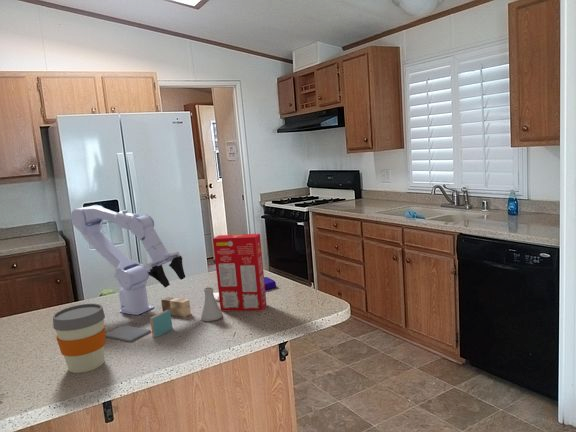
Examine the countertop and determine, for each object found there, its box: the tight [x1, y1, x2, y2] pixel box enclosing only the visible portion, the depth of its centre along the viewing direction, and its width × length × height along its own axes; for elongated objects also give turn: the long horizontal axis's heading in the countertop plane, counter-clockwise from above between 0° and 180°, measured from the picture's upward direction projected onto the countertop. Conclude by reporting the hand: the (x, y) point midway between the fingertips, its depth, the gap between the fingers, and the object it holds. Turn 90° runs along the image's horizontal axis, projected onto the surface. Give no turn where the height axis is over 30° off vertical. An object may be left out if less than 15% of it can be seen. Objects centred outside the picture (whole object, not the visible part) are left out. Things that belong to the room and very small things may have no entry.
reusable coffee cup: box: [52, 303, 107, 374], centre depth 124 cm, size 13×13×15 cm
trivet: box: [106, 324, 152, 343], centre depth 144 cm, size 12×8×1 cm, turn 60°
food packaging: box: [212, 233, 267, 312], centre depth 158 cm, size 15×5×25 cm, turn 78°
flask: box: [200, 286, 223, 322], centre depth 152 cm, size 7×7×10 cm
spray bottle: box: [213, 276, 277, 302], centre depth 177 cm, size 3×11×24 cm
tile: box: [149, 310, 173, 338], centre depth 143 cm, size 2×7×6 cm, turn 149°
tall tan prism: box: [161, 296, 192, 318], centre depth 159 cm, size 10×3×5 cm, turn 60°
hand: (175, 282), depth 156 cm, fingers open, 7 cm apart
